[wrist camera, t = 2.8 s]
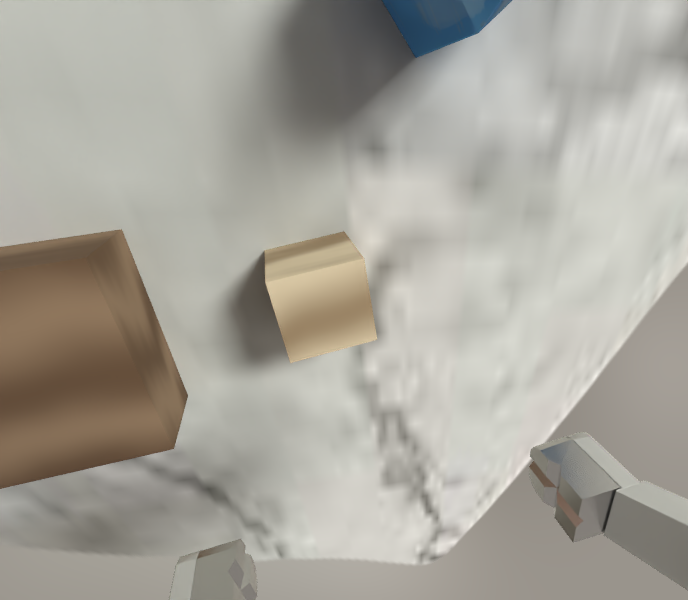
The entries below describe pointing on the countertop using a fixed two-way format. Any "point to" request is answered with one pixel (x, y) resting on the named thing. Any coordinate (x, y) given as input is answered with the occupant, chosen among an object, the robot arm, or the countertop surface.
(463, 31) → the perfume bottle
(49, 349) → the walnut block
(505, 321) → the countertop surface
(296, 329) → the maple cube
